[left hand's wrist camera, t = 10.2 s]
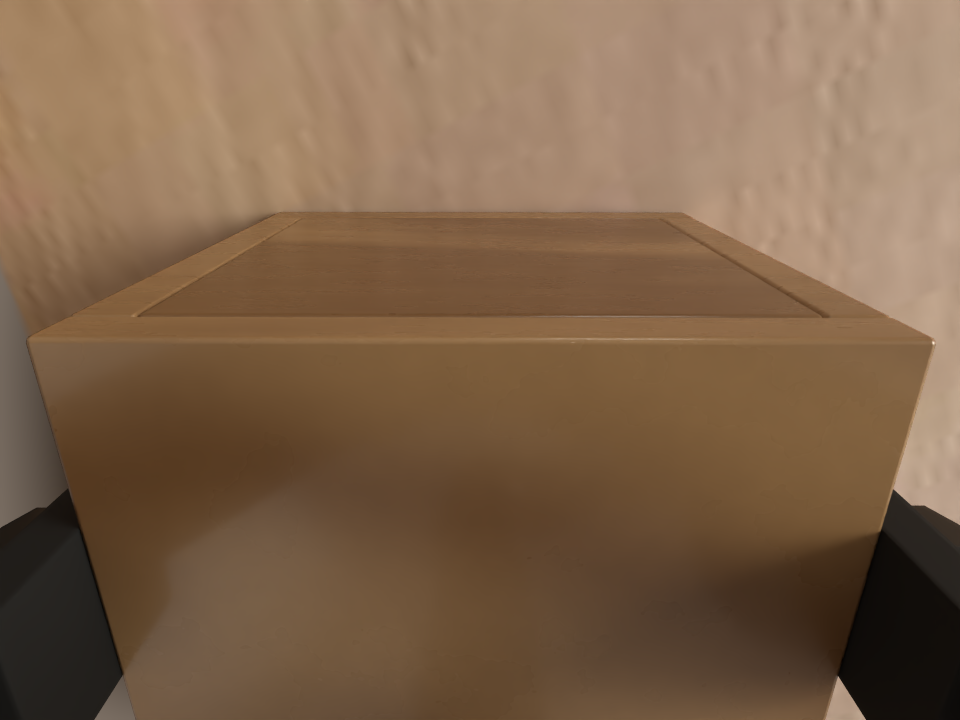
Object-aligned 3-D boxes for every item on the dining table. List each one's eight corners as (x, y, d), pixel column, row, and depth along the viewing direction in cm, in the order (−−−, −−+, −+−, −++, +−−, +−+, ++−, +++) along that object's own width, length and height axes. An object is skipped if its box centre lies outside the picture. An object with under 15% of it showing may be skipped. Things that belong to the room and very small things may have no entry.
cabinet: (621, 722, 24) (710, 1112, 14) (339, 721, 24) (247, 1110, 14) (683, 212, 16) (940, 338, 7) (278, 211, 17) (20, 337, 7)
